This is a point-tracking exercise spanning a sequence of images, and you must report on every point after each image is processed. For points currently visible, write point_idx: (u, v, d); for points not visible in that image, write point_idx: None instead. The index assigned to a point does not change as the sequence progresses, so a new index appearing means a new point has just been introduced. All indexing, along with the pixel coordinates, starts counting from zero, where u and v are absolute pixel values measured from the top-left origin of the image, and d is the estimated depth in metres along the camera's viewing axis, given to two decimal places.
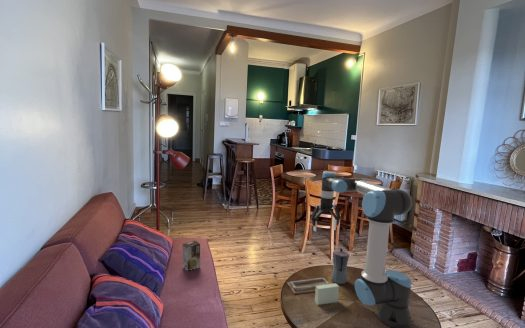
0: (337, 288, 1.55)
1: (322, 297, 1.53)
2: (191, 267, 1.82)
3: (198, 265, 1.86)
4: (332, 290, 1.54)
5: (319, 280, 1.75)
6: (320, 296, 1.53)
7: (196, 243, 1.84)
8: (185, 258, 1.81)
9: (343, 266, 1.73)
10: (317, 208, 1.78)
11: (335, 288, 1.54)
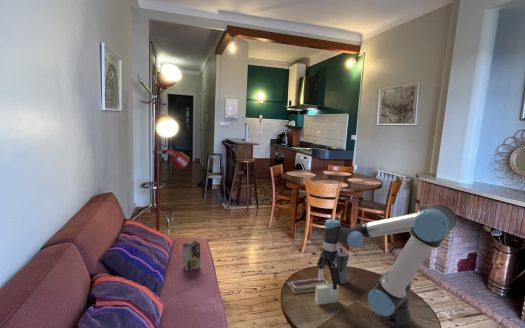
0: (337, 288, 1.55)
1: (322, 297, 1.53)
2: (191, 267, 1.82)
3: (198, 265, 1.86)
4: None
5: None
6: (320, 296, 1.53)
7: (196, 243, 1.84)
8: (185, 258, 1.81)
9: (343, 266, 1.73)
10: None
11: None
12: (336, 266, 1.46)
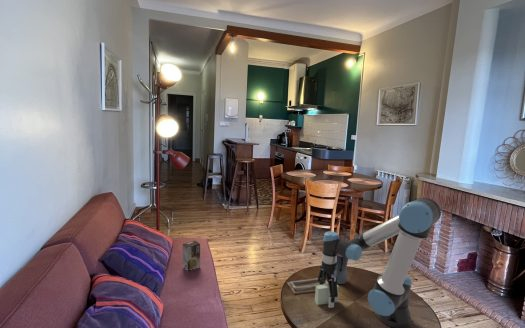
0: (337, 288, 1.55)
1: (322, 297, 1.53)
2: (191, 267, 1.82)
3: (198, 265, 1.86)
4: None
5: None
6: (320, 296, 1.53)
7: (196, 243, 1.84)
8: (185, 258, 1.81)
9: (343, 266, 1.73)
10: (320, 268, 1.59)
11: None
12: (335, 280, 1.47)
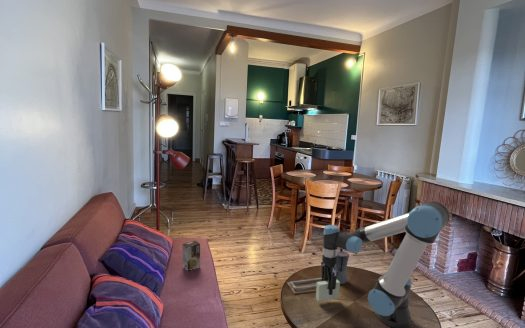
0: (338, 284, 1.54)
1: (323, 293, 1.52)
2: (191, 267, 1.82)
3: (198, 265, 1.86)
4: None
5: (319, 280, 1.75)
6: (321, 292, 1.52)
7: (196, 243, 1.84)
8: (185, 258, 1.81)
9: (343, 266, 1.73)
10: (321, 265, 1.58)
11: (336, 284, 1.54)
12: (335, 275, 1.47)
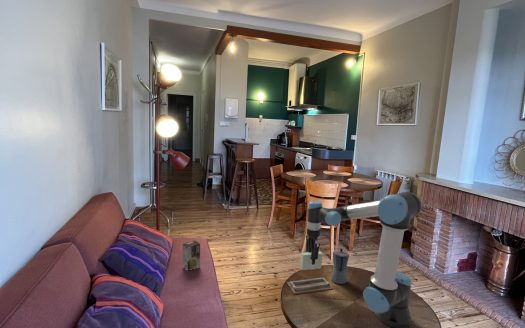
0: (320, 255, 1.68)
1: (307, 263, 1.66)
2: (191, 267, 1.82)
3: (198, 265, 1.86)
4: None
5: (319, 280, 1.75)
6: (305, 262, 1.66)
7: (196, 243, 1.84)
8: (185, 258, 1.81)
9: (343, 266, 1.73)
10: (306, 238, 1.72)
11: (318, 255, 1.68)
12: (317, 246, 1.61)
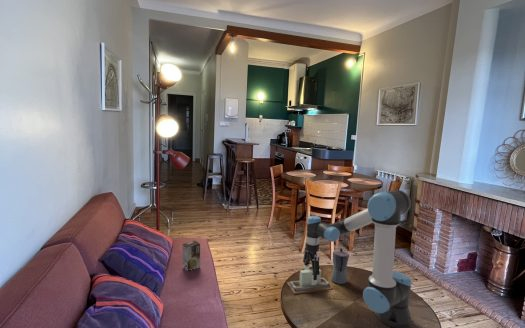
0: (319, 272, 1.69)
1: (306, 280, 1.67)
2: (191, 267, 1.82)
3: (198, 265, 1.86)
4: None
5: None
6: (304, 279, 1.67)
7: (196, 243, 1.84)
8: (185, 258, 1.81)
9: (343, 266, 1.73)
10: (305, 250, 1.74)
11: None
12: (317, 259, 1.62)
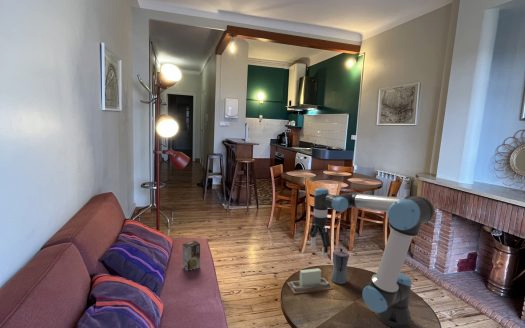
0: (319, 272, 1.69)
1: (306, 280, 1.67)
2: (191, 267, 1.82)
3: (198, 265, 1.86)
4: (315, 274, 1.69)
5: None
6: (304, 279, 1.67)
7: (196, 243, 1.84)
8: (185, 258, 1.81)
9: (343, 266, 1.73)
10: (312, 223, 1.70)
11: (317, 272, 1.69)
12: (326, 230, 1.57)
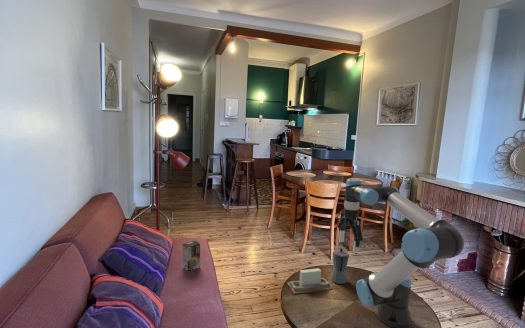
0: (319, 272, 1.69)
1: (306, 280, 1.67)
2: (191, 267, 1.82)
3: (198, 265, 1.86)
4: (315, 274, 1.69)
5: None
6: (304, 279, 1.67)
7: (196, 243, 1.84)
8: (185, 258, 1.81)
9: (343, 266, 1.73)
10: (341, 216, 1.61)
11: (317, 272, 1.69)
12: (358, 224, 1.49)
